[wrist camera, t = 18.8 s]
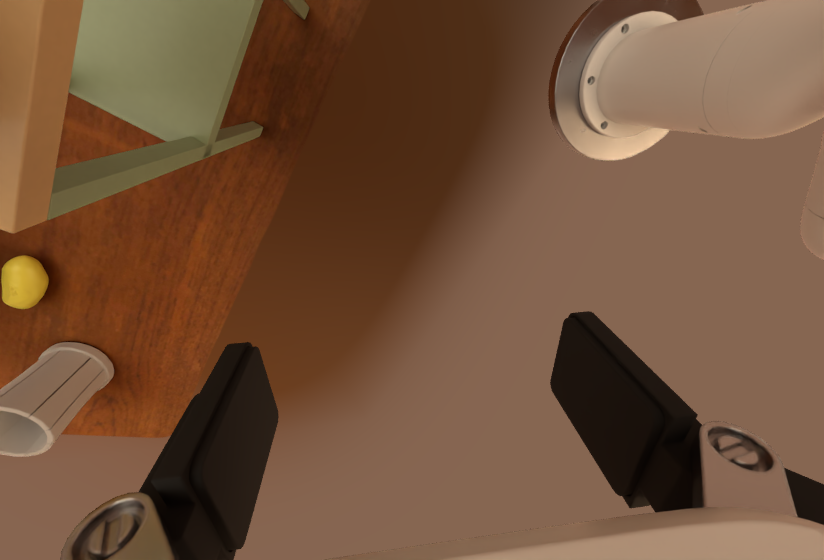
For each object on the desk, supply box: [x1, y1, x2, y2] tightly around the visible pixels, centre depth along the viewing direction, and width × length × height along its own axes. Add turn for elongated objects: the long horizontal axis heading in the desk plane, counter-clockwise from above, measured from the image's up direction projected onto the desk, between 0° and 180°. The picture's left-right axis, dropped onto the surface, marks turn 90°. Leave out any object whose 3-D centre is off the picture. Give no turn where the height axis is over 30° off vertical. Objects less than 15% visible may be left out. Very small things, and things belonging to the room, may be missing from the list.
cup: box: [0, 342, 114, 456], centre depth 46 cm, size 10×9×12 cm
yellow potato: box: [1, 255, 49, 309], centre depth 43 cm, size 4×8×4 cm, turn 147°
